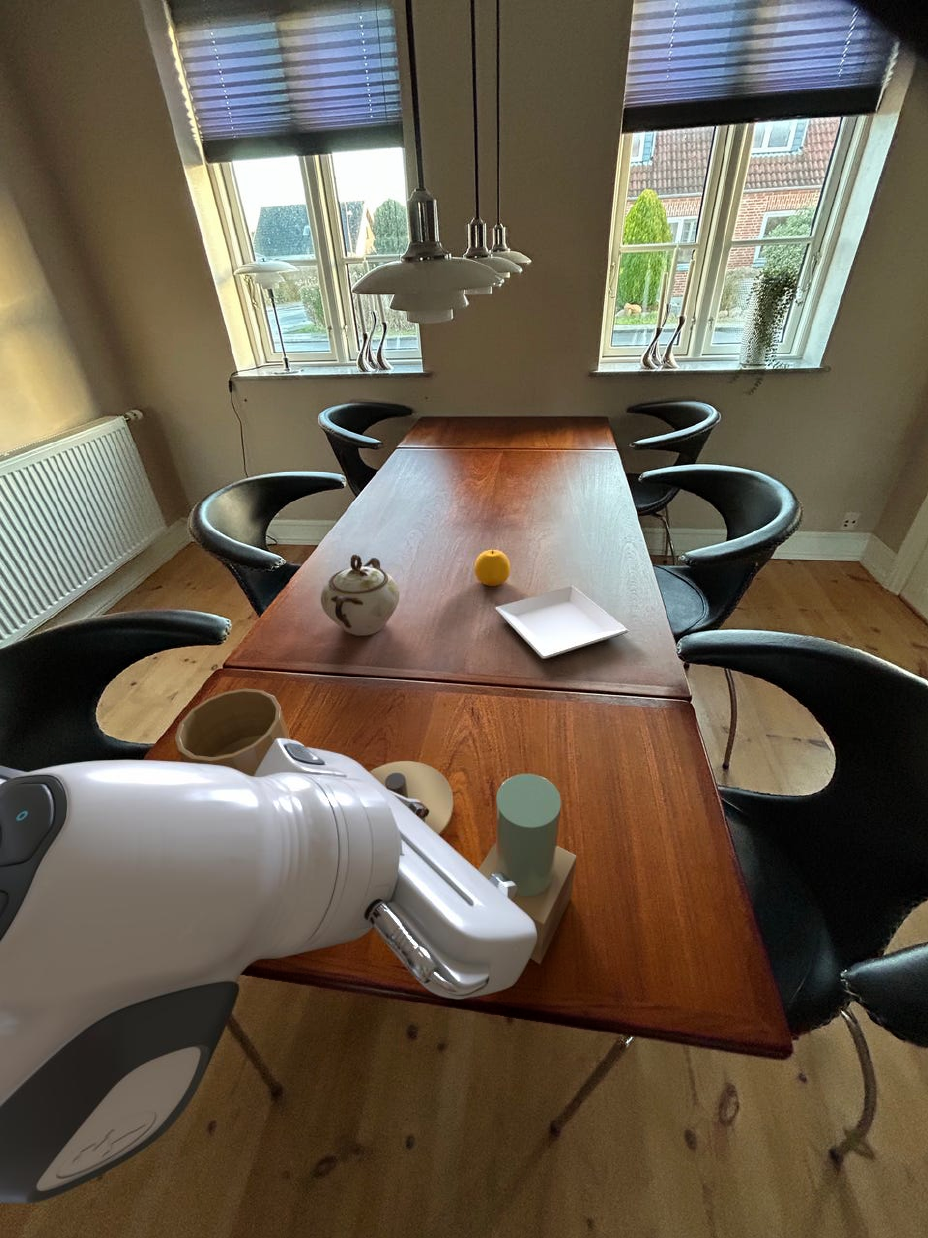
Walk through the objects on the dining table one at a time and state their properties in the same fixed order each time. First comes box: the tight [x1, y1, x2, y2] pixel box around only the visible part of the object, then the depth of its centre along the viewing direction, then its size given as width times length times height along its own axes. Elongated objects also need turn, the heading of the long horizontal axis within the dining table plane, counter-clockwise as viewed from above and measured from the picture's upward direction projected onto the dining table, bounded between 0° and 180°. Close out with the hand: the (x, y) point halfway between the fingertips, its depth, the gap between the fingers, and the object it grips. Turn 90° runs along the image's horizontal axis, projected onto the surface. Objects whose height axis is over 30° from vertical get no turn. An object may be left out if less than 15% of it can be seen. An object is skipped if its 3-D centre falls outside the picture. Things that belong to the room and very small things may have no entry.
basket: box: [174, 688, 291, 777], centre depth 73 cm, size 13×13×10 cm
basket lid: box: [368, 760, 454, 837], centre depth 68 cm, size 14×14×6 cm
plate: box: [494, 585, 630, 660], centre depth 103 cm, size 19×19×2 cm
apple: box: [473, 549, 511, 587], centre depth 116 cm, size 8×8×8 cm
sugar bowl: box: [320, 554, 400, 637], centre depth 102 cm, size 20×15×15 cm
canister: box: [495, 773, 562, 897], centre depth 51 cm, size 6×6×11 cm
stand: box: [477, 842, 578, 965], centre depth 56 cm, size 8×8×8 cm
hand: (460, 848), depth 41 cm, fingers open, 8 cm apart
